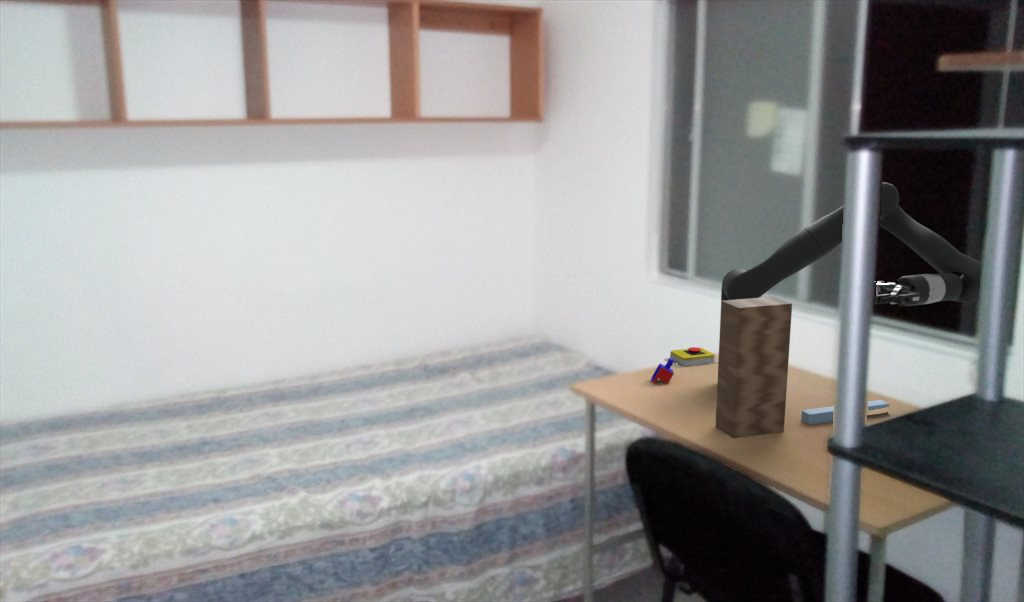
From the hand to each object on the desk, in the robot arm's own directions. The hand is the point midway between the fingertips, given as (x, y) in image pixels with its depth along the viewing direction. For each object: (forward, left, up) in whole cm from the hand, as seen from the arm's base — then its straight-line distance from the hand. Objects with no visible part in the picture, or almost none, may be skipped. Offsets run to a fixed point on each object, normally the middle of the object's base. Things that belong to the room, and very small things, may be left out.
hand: (864, 295), depth 198 cm
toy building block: (+18, -49, -32) cm, 61 cm away
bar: (+2, -1, -32) cm, 32 cm away
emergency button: (-3, -58, -32) cm, 67 cm away
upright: (+28, -10, -31) cm, 43 cm away
